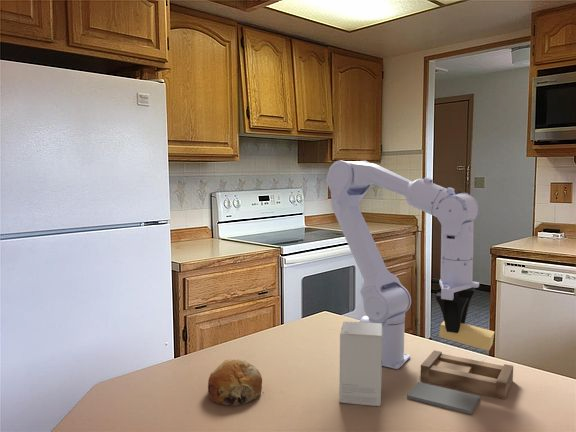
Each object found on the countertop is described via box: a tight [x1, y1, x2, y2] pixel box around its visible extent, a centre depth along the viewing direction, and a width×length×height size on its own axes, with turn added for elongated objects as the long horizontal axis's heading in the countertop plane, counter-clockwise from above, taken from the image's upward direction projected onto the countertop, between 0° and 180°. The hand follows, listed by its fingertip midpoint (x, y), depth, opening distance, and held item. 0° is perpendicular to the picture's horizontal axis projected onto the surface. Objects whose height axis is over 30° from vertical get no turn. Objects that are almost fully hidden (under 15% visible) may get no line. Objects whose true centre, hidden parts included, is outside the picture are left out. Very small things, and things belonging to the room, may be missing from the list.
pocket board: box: [419, 350, 514, 400], centre depth 94 cm, size 15×9×3 cm, turn 58°
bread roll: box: [207, 359, 263, 407], centre depth 89 cm, size 10×10×8 cm
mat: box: [406, 381, 480, 416], centre depth 87 cm, size 11×6×1 cm, turn 58°
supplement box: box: [338, 321, 383, 407], centre depth 88 cm, size 7×7×13 cm
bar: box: [438, 320, 495, 352], centre depth 92 cm, size 9×4×2 cm, turn 59°
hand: (455, 328), depth 93 cm, fingers closed on bar, 4 cm apart
